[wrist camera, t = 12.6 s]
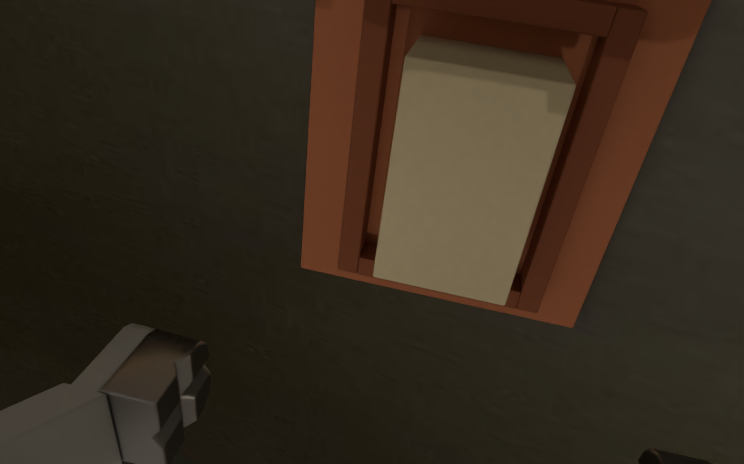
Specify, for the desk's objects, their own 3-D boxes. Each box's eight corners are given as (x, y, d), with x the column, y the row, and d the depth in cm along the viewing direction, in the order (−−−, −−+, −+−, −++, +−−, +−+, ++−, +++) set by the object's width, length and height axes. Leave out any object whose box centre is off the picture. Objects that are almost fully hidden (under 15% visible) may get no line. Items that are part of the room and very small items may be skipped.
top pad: (420, 34, 20) (404, 55, 17) (563, 57, 20) (577, 84, 16) (389, 230, 25) (372, 277, 22) (503, 254, 24) (505, 307, 21)
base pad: (327, -89, 20) (307, -91, 18) (715, -35, 18) (744, -30, 16) (306, 257, 28) (290, 284, 26) (570, 315, 26) (576, 349, 24)
